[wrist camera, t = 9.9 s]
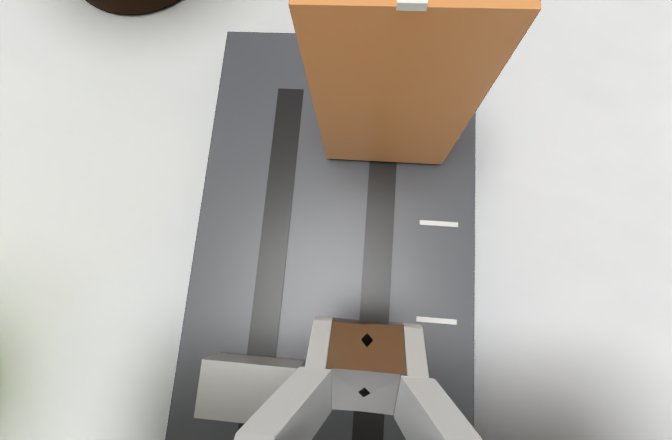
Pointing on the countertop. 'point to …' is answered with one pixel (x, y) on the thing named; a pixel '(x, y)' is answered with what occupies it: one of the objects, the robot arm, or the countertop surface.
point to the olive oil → (131, 5)
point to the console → (314, 252)
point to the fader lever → (403, 70)
